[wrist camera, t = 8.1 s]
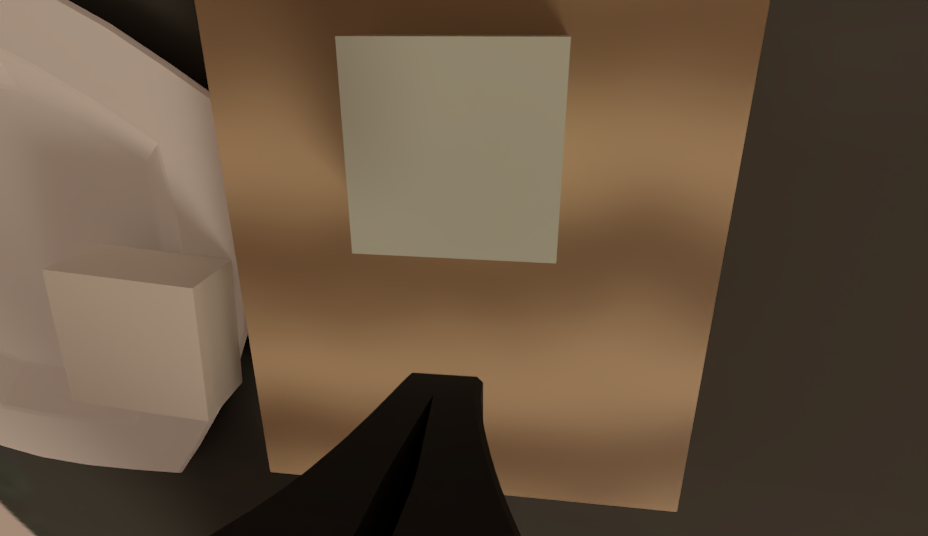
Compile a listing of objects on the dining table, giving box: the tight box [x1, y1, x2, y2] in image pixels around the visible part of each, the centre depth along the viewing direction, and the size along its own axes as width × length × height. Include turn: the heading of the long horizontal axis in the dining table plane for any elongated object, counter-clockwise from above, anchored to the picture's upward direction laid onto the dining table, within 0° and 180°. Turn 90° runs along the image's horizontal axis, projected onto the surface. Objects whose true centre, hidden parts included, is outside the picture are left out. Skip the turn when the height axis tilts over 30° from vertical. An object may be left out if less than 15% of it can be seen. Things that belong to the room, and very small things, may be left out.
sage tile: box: [335, 35, 571, 263], centre depth 14 cm, size 5×5×2 cm
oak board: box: [195, 0, 770, 512], centre depth 19 cm, size 16×14×4 cm
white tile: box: [42, 243, 242, 422], centre depth 20 cm, size 5×5×2 cm
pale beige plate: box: [0, 0, 248, 473], centre depth 22 cm, size 19×19×2 cm
